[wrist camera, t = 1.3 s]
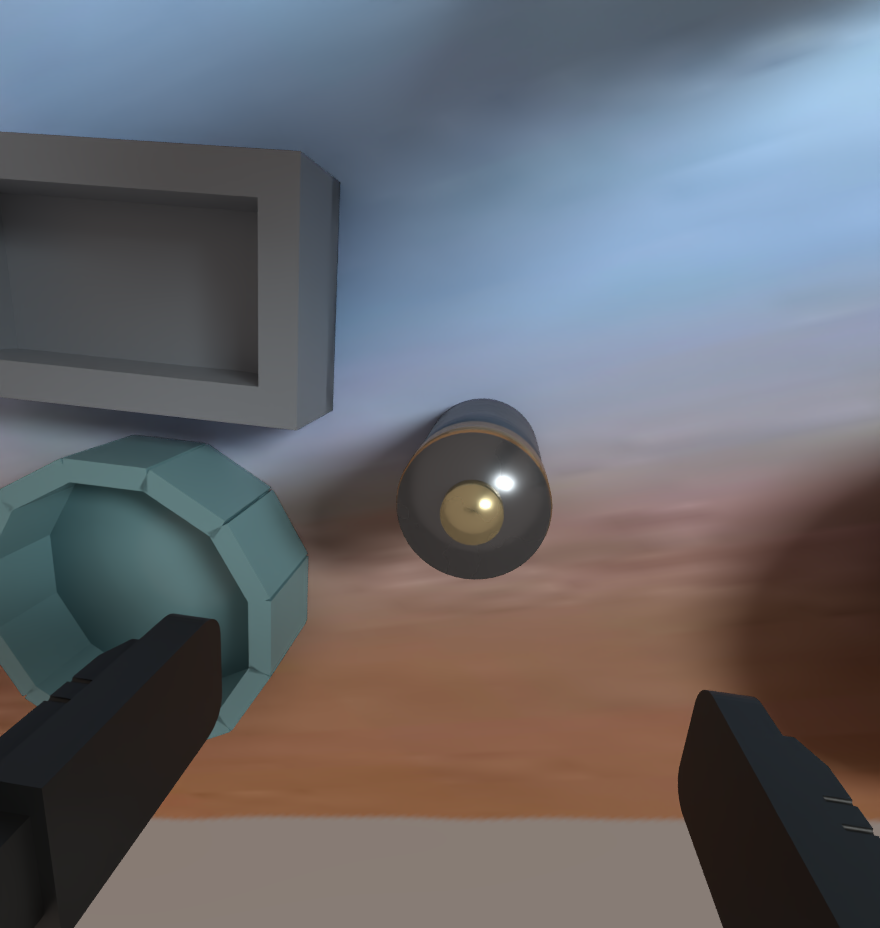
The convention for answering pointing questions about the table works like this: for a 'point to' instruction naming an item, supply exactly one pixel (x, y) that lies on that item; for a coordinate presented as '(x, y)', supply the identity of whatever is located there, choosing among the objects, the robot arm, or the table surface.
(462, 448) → the cell
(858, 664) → the table surface
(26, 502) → the cup
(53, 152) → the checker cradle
